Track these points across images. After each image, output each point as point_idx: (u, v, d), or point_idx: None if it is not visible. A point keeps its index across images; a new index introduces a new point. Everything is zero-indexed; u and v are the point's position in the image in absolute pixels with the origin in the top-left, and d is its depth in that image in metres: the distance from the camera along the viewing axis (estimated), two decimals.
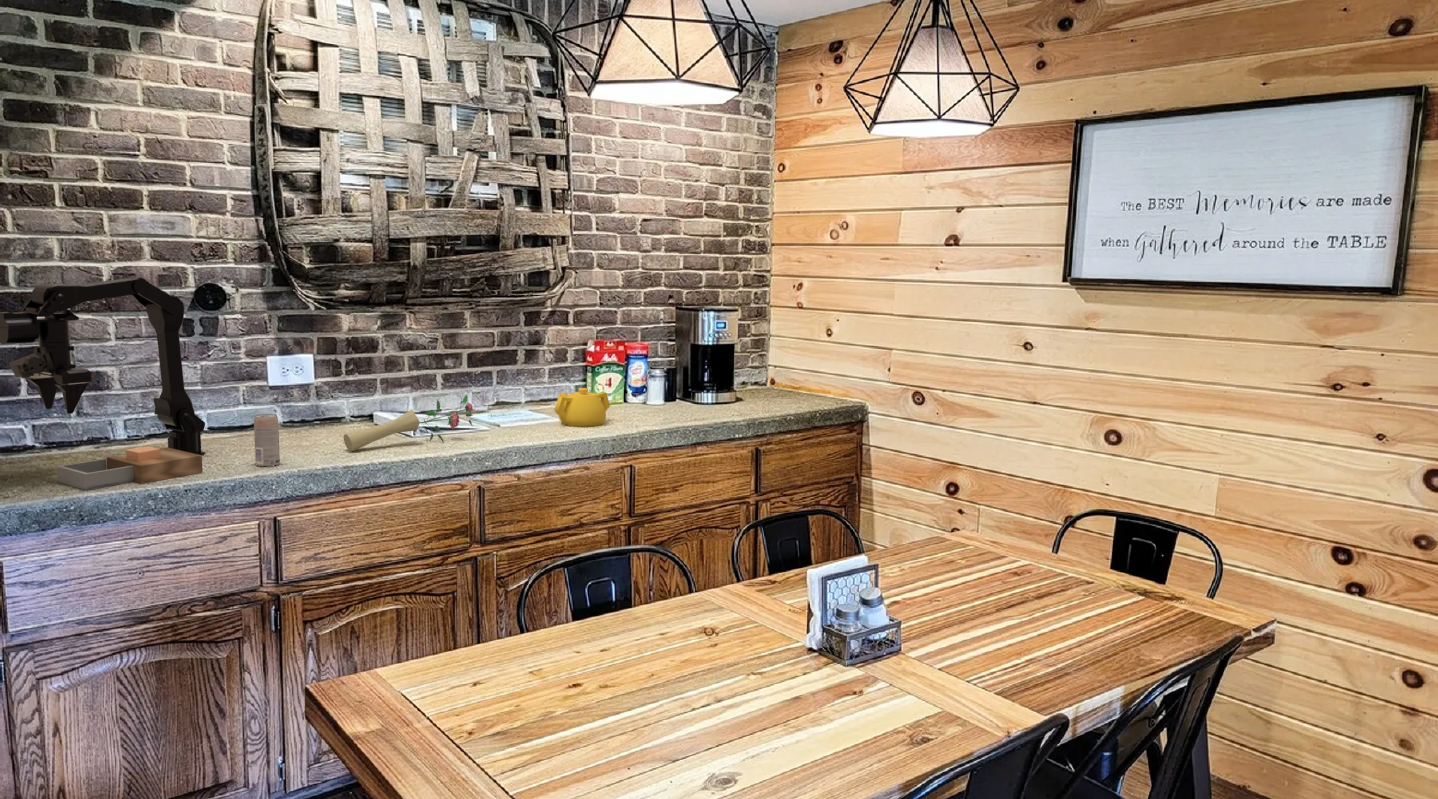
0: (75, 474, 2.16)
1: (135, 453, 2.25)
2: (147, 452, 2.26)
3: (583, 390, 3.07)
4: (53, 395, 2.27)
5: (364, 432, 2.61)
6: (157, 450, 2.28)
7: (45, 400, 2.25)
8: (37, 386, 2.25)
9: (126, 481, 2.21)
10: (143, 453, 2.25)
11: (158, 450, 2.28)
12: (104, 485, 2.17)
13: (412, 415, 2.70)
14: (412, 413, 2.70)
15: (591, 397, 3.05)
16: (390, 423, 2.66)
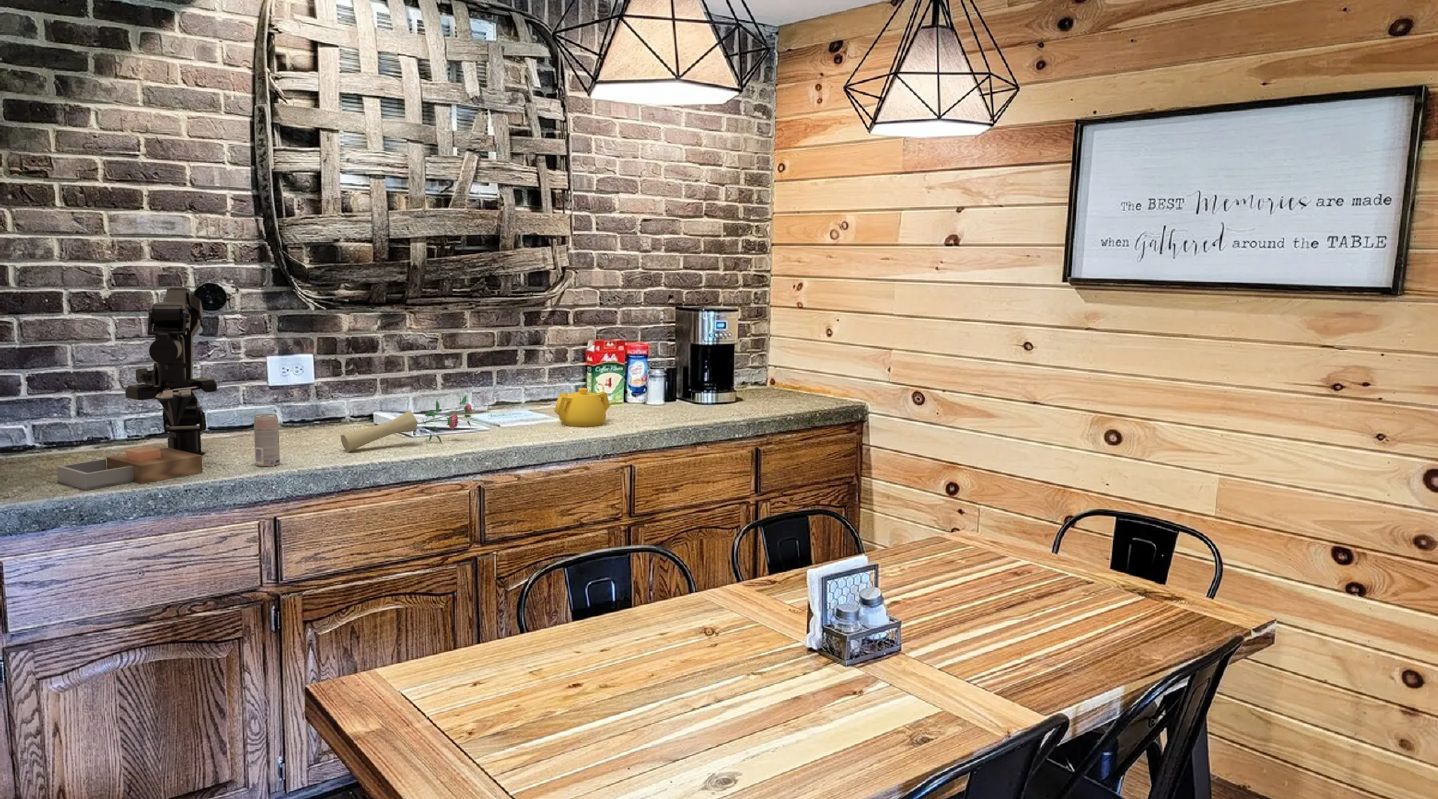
0: (75, 474, 2.16)
1: (135, 453, 2.25)
2: (147, 452, 2.26)
3: (583, 390, 3.07)
4: (177, 413, 2.32)
5: (361, 432, 2.60)
6: (157, 450, 2.28)
7: None
8: None
9: (126, 481, 2.21)
10: (143, 453, 2.25)
11: (158, 450, 2.28)
12: (104, 485, 2.17)
13: (410, 415, 2.69)
14: (410, 414, 2.69)
15: (591, 397, 3.05)
16: (388, 424, 2.65)
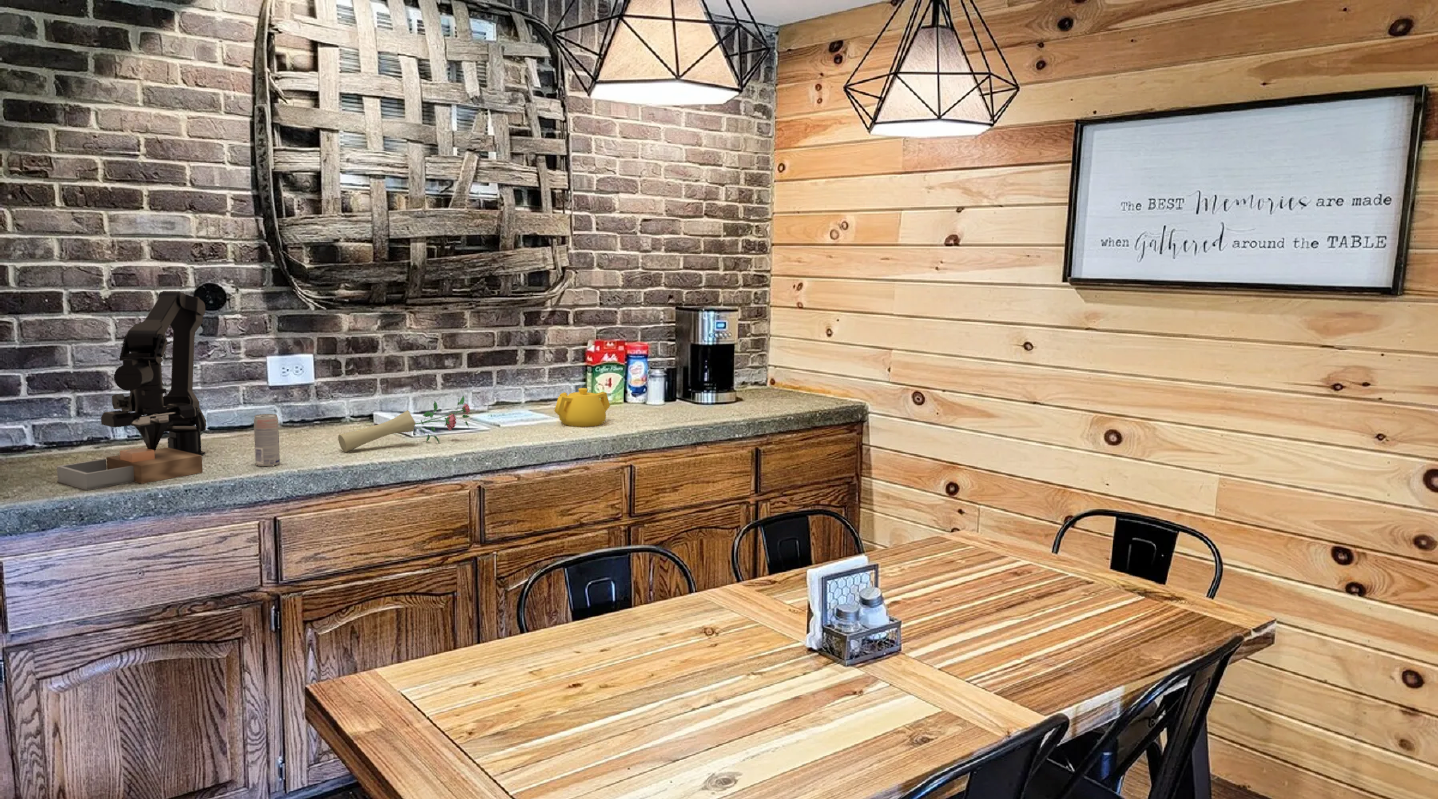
0: (75, 474, 2.16)
1: (129, 454, 2.24)
2: (141, 453, 2.25)
3: (583, 390, 3.07)
4: (154, 439, 2.28)
5: (358, 433, 2.60)
6: (151, 451, 2.27)
7: None
8: None
9: (126, 481, 2.21)
10: (136, 454, 2.24)
11: (152, 451, 2.27)
12: (104, 485, 2.17)
13: (408, 416, 2.68)
14: (408, 414, 2.68)
15: (591, 397, 3.05)
16: (385, 424, 2.65)
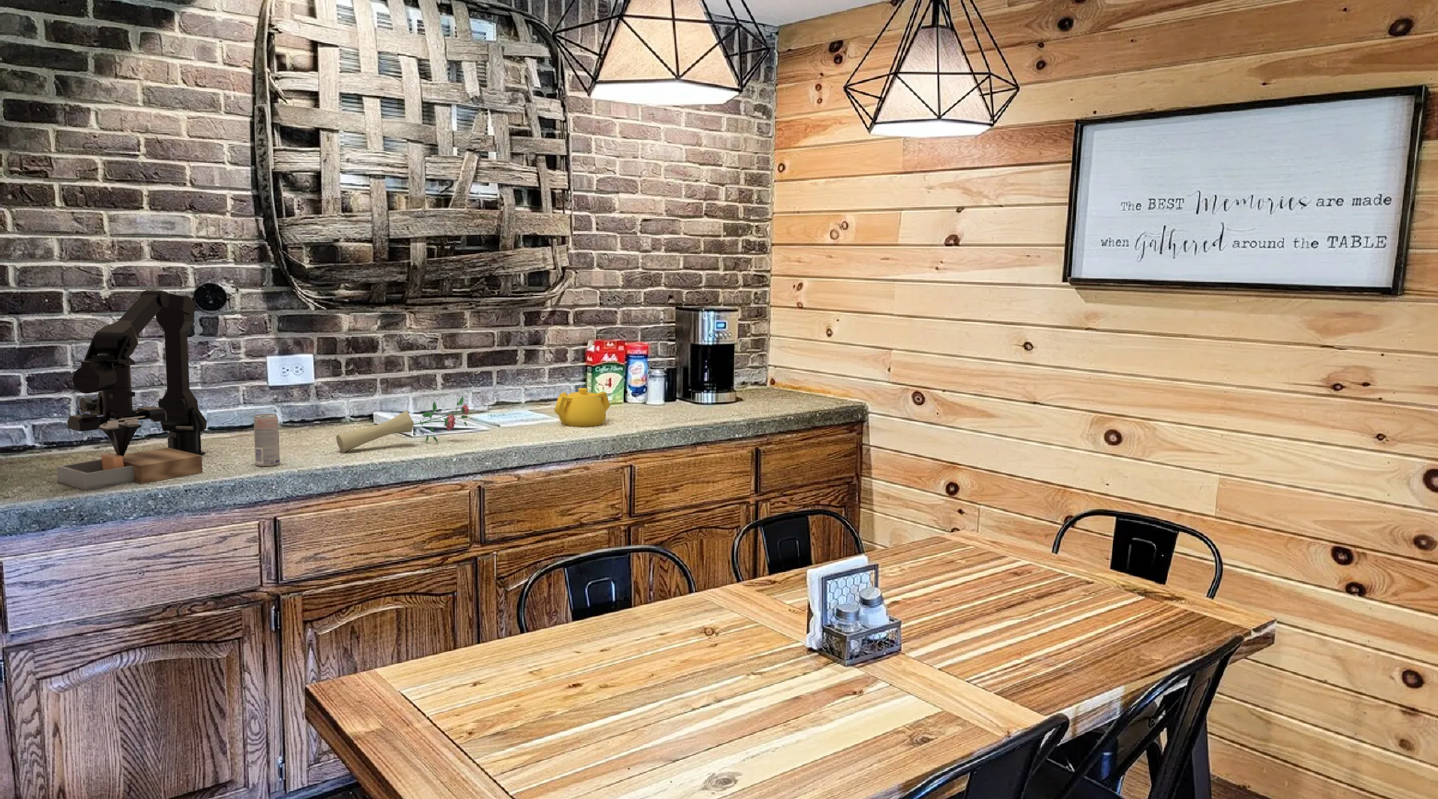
0: (75, 474, 2.16)
1: None
2: None
3: (583, 390, 3.07)
4: (123, 444, 2.23)
5: (356, 433, 2.59)
6: (114, 460, 2.21)
7: None
8: None
9: (126, 481, 2.21)
10: None
11: (114, 459, 2.21)
12: (104, 485, 2.17)
13: (406, 416, 2.68)
14: (406, 414, 2.68)
15: (591, 397, 3.05)
16: (384, 424, 2.64)
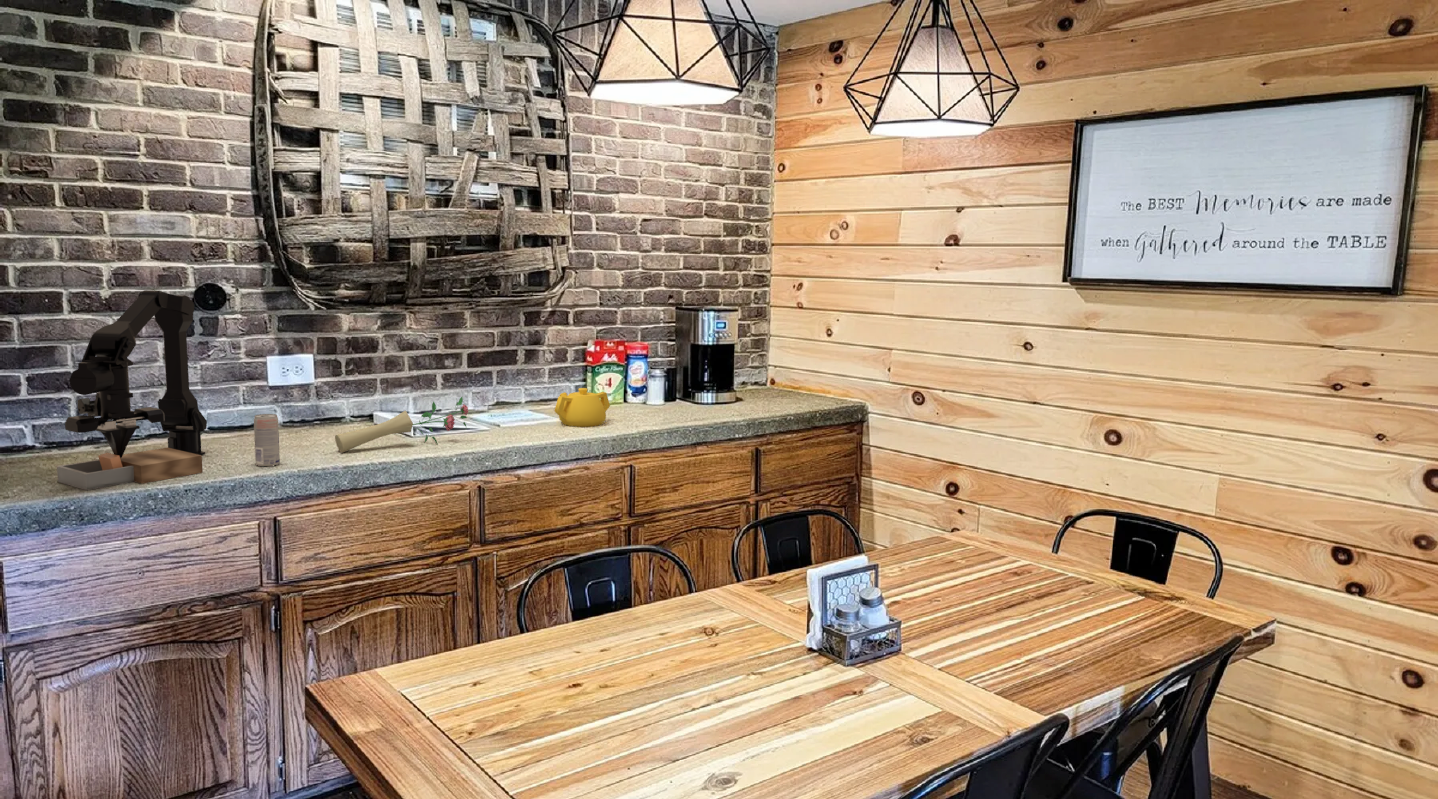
0: (75, 474, 2.16)
1: None
2: None
3: (583, 390, 3.07)
4: (121, 445, 2.22)
5: (355, 433, 2.59)
6: (111, 461, 2.20)
7: None
8: None
9: (126, 481, 2.21)
10: None
11: (111, 460, 2.20)
12: (104, 485, 2.17)
13: (405, 416, 2.67)
14: (405, 414, 2.68)
15: (591, 397, 3.05)
16: (382, 424, 2.64)
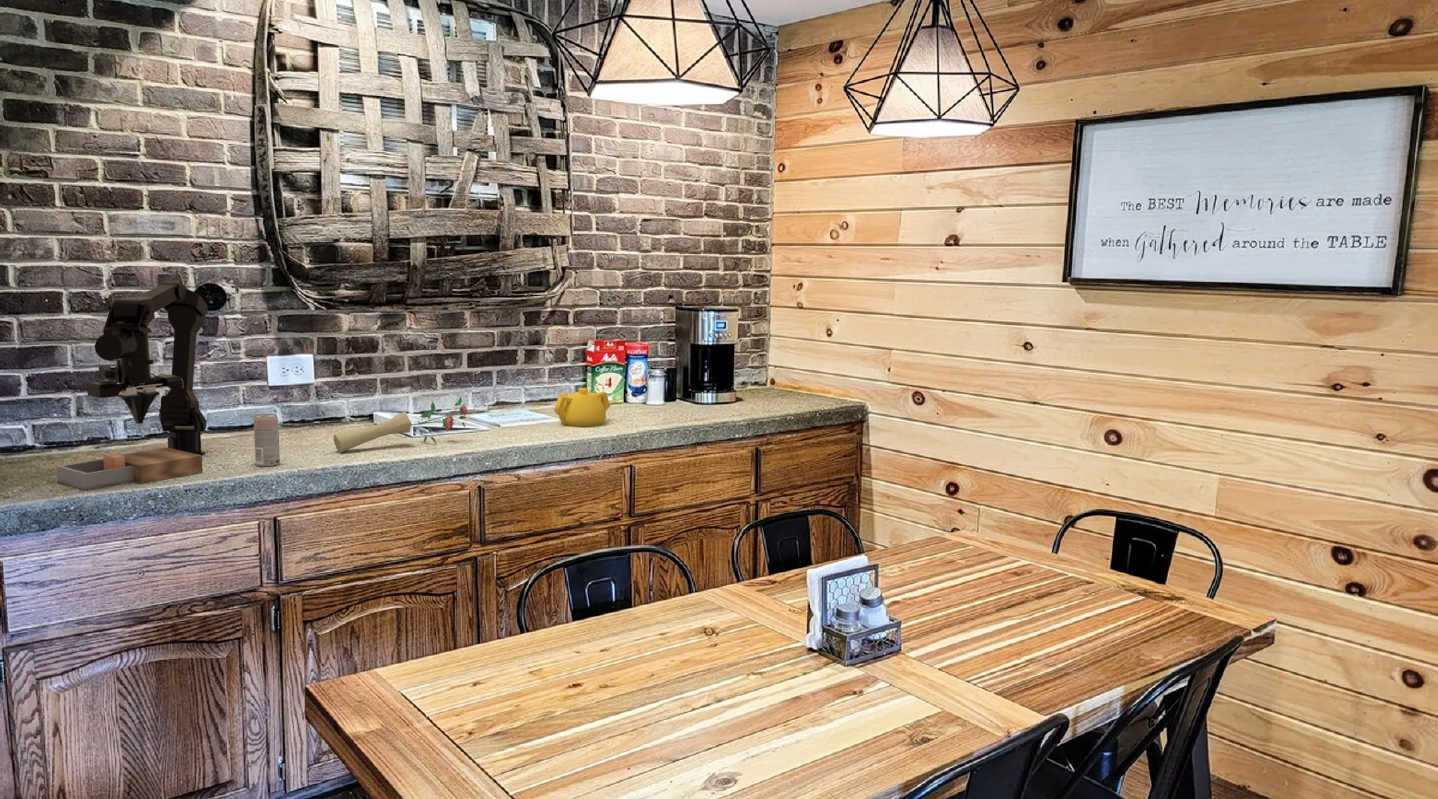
0: (75, 474, 2.16)
1: None
2: None
3: (583, 390, 3.07)
4: (142, 411, 2.27)
5: (354, 433, 2.59)
6: (116, 460, 2.21)
7: None
8: None
9: (126, 481, 2.21)
10: None
11: (116, 459, 2.21)
12: (104, 485, 2.17)
13: (404, 417, 2.67)
14: (404, 415, 2.67)
15: (591, 397, 3.05)
16: (381, 424, 2.63)
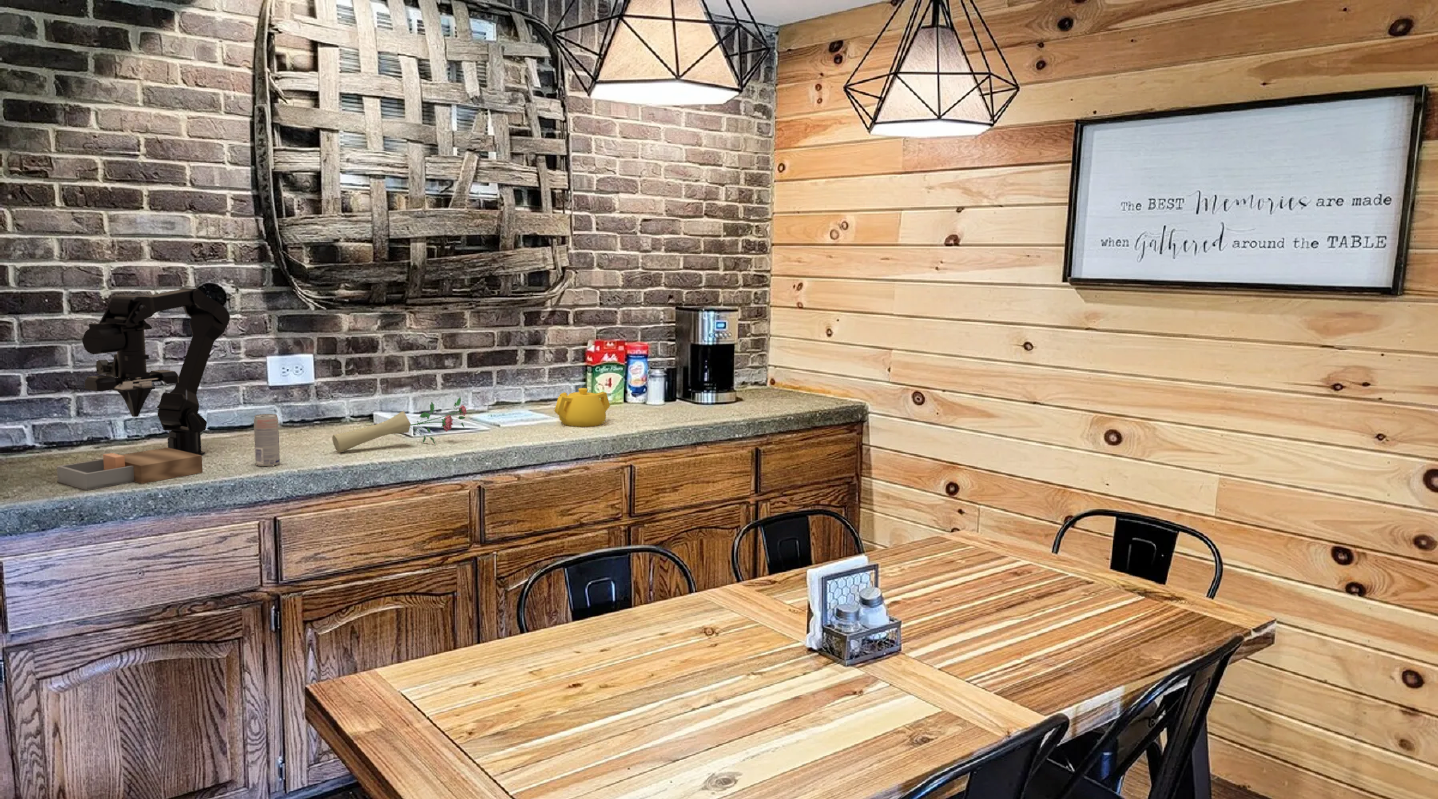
0: (75, 474, 2.16)
1: None
2: None
3: (583, 390, 3.07)
4: (138, 404, 2.33)
5: (352, 433, 2.59)
6: (116, 460, 2.21)
7: None
8: None
9: (126, 481, 2.21)
10: None
11: (116, 459, 2.21)
12: (104, 485, 2.17)
13: (403, 417, 2.67)
14: (403, 415, 2.67)
15: (591, 397, 3.05)
16: (380, 425, 2.63)
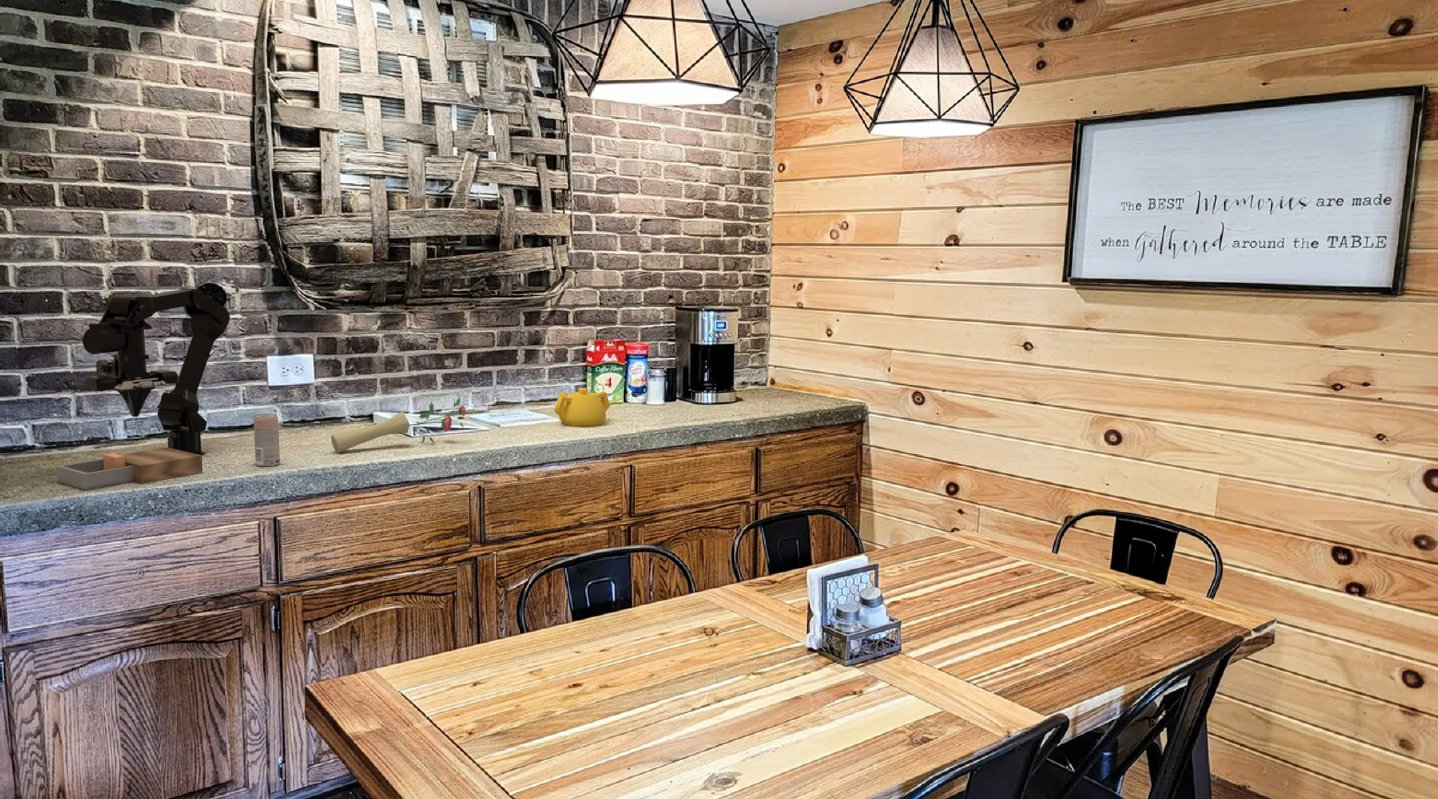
0: (75, 474, 2.16)
1: None
2: None
3: (583, 390, 3.07)
4: (137, 404, 2.33)
5: (351, 434, 2.58)
6: (116, 460, 2.21)
7: None
8: None
9: (126, 481, 2.21)
10: None
11: (116, 459, 2.21)
12: (104, 485, 2.17)
13: (402, 417, 2.66)
14: (402, 415, 2.66)
15: (591, 397, 3.05)
16: (379, 425, 2.63)
